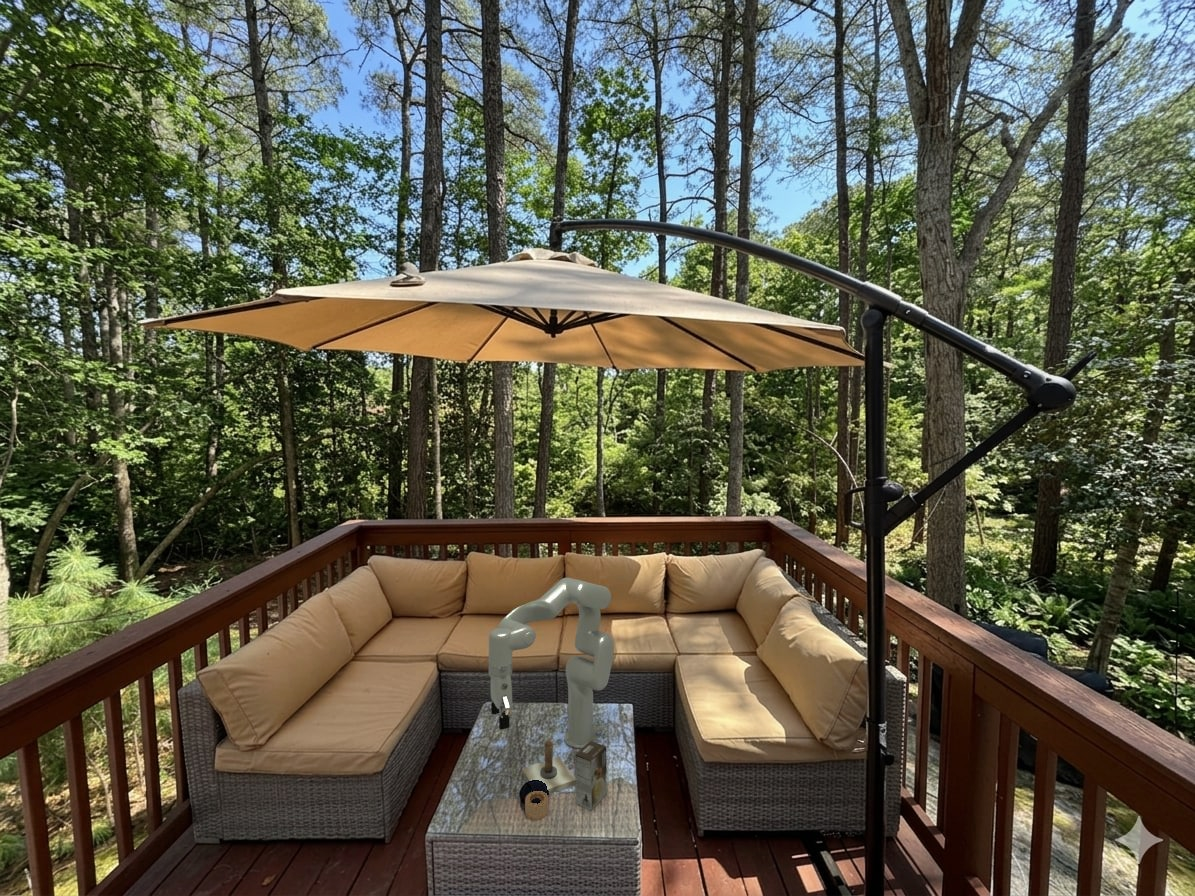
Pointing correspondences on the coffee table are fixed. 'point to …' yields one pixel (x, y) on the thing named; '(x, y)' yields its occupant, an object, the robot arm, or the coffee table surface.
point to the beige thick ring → (536, 805)
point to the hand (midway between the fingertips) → (500, 720)
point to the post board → (554, 782)
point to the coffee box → (591, 775)
